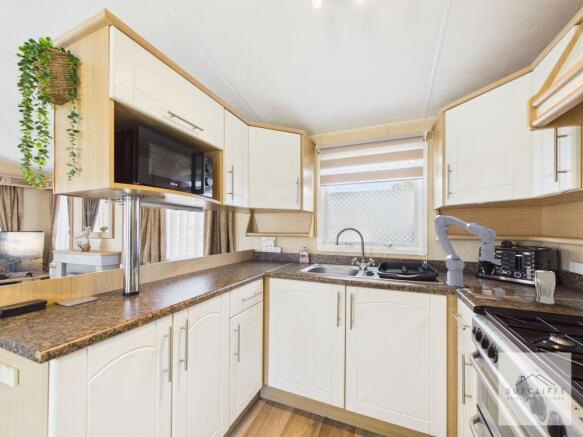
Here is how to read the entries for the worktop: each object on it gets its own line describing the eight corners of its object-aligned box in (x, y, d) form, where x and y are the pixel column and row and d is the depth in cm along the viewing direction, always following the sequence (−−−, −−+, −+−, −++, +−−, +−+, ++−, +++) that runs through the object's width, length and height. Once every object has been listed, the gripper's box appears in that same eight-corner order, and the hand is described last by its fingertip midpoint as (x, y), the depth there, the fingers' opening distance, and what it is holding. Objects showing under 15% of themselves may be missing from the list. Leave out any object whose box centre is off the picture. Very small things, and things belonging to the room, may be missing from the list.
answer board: (461, 288, 140) (461, 287, 140) (508, 292, 133) (508, 291, 133) (476, 298, 121) (476, 297, 121) (531, 303, 114) (531, 302, 114)
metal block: (491, 295, 124) (491, 288, 124) (500, 296, 122) (500, 288, 123) (495, 298, 120) (495, 290, 120) (505, 299, 119) (505, 290, 119)
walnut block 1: (470, 290, 133) (470, 283, 133) (478, 291, 131) (478, 284, 132) (473, 292, 129) (473, 285, 129) (482, 293, 128) (482, 286, 128)
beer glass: (537, 303, 114) (537, 271, 114) (532, 299, 120) (532, 269, 120) (558, 306, 110) (557, 273, 110) (552, 302, 116) (551, 271, 116)
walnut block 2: (501, 293, 128) (501, 286, 128) (510, 294, 127) (510, 286, 127) (505, 295, 125) (505, 287, 125) (514, 296, 123) (514, 288, 123)
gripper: (471, 249, 140) (471, 272, 140) (490, 252, 125) (490, 277, 125) (483, 249, 140) (483, 272, 139) (504, 252, 125) (504, 278, 125)
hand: (488, 275), depth 132 cm, fingers closed
